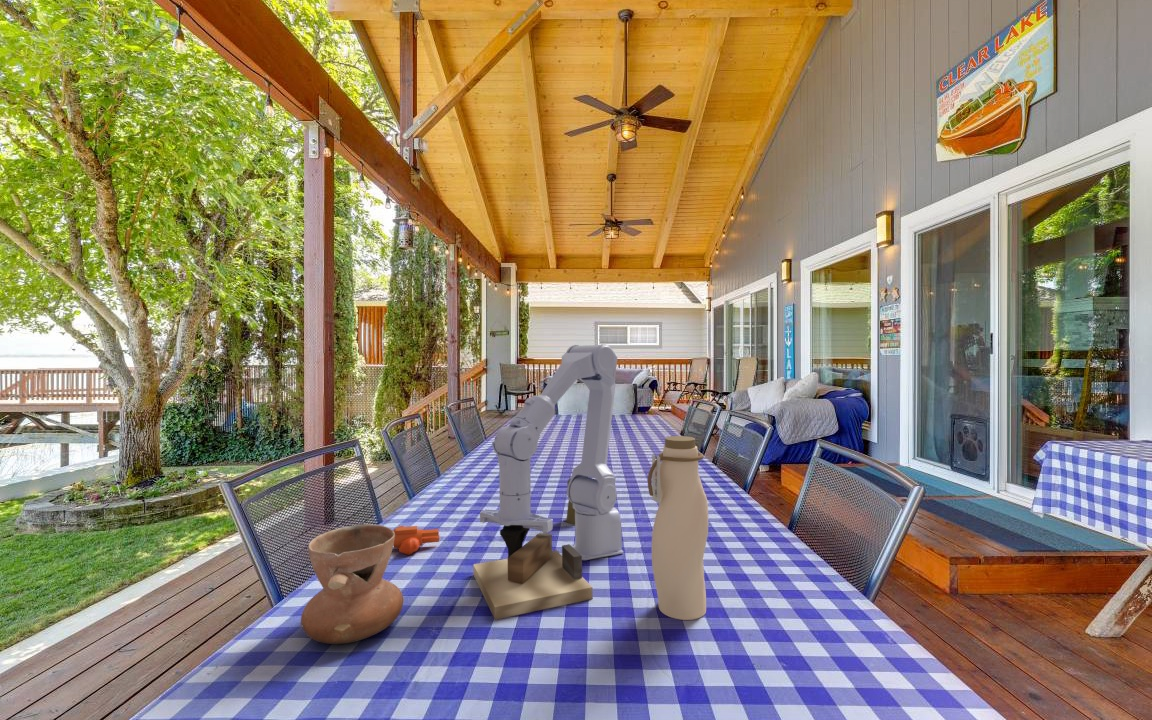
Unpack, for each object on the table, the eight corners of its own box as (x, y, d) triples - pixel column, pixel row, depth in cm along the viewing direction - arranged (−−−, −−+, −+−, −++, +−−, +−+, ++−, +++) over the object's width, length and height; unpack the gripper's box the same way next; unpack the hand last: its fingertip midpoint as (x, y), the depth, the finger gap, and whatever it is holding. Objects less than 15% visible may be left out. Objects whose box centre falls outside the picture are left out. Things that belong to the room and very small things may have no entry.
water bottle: (671, 630, 76) (669, 446, 76) (637, 605, 84) (635, 437, 84) (722, 613, 81) (720, 440, 81) (685, 591, 89) (683, 432, 89)
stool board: (556, 560, 103) (556, 530, 103) (592, 598, 86) (592, 564, 86) (473, 574, 97) (472, 543, 97) (495, 619, 80) (494, 582, 80)
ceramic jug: (390, 655, 71) (389, 555, 71) (280, 665, 69) (278, 562, 69) (413, 595, 89) (412, 515, 88) (326, 602, 86) (325, 519, 86)
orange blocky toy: (439, 518, 113) (382, 522, 111) (437, 540, 106) (377, 545, 104) (439, 536, 115) (384, 541, 112) (438, 559, 108) (379, 565, 105)
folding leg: (540, 551, 101) (540, 532, 101) (554, 554, 100) (554, 534, 100) (507, 580, 89) (507, 557, 89) (523, 583, 88) (523, 560, 88)
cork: (587, 525, 124) (587, 480, 124) (563, 523, 125) (563, 479, 125) (591, 517, 130) (591, 474, 130) (569, 516, 131) (568, 474, 131)
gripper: (469, 492, 92) (470, 566, 92) (539, 501, 86) (539, 580, 86) (491, 483, 99) (492, 552, 99) (557, 491, 93) (558, 565, 93)
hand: (515, 565), depth 93 cm, fingers closed, pressing on folding leg
